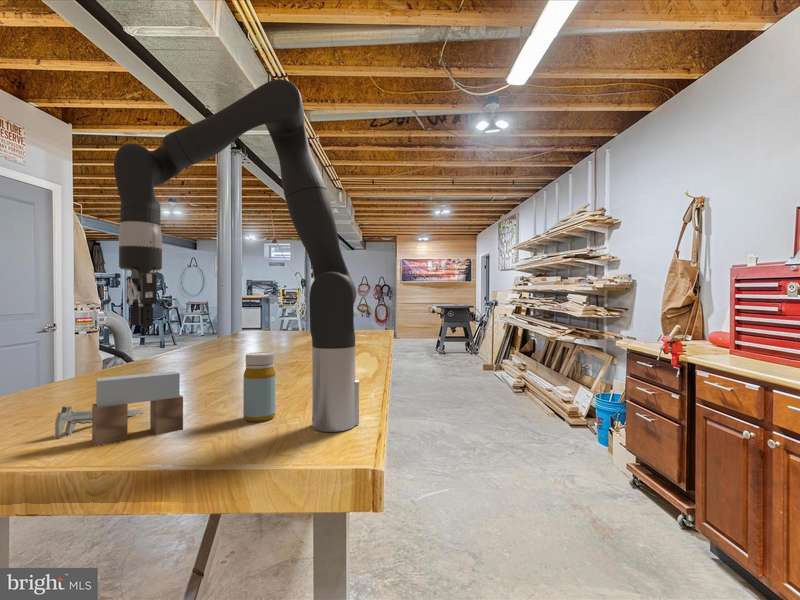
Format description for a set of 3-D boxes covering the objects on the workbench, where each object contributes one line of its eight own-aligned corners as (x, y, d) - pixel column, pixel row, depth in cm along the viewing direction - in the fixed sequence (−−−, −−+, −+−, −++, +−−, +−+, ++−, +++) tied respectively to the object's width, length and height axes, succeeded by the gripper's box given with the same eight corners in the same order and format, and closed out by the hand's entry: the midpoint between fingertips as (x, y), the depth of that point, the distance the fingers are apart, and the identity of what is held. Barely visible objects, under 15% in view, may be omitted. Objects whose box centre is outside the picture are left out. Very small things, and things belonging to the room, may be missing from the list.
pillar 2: (176, 424, 92) (176, 392, 92) (183, 429, 88) (183, 396, 89) (150, 429, 89) (150, 396, 89) (156, 434, 85) (156, 400, 85)
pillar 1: (122, 434, 85) (122, 400, 85) (127, 440, 82) (127, 404, 82) (92, 440, 82) (92, 404, 82) (96, 446, 78) (96, 408, 78)
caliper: (59, 440, 83) (59, 408, 83) (54, 439, 83) (54, 408, 83) (145, 413, 102) (145, 387, 102) (141, 413, 103) (141, 387, 103)
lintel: (175, 394, 91) (175, 371, 91) (179, 397, 88) (179, 373, 88) (96, 403, 82) (96, 378, 82) (97, 407, 79) (97, 381, 79)
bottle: (262, 423, 92) (262, 356, 93) (236, 421, 95) (236, 354, 95) (281, 415, 99) (281, 352, 99) (256, 413, 101) (256, 351, 101)
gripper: (171, 244, 83) (171, 326, 83) (152, 251, 93) (152, 323, 93) (126, 240, 78) (126, 327, 78) (112, 248, 88) (112, 325, 88)
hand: (141, 325), depth 86 cm, fingers open, 8 cm apart
